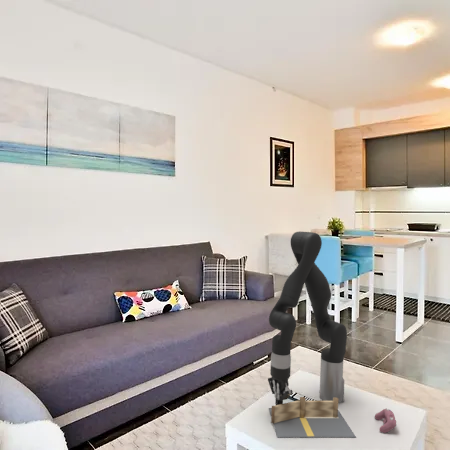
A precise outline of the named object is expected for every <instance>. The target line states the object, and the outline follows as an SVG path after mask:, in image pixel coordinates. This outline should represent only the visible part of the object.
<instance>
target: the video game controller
mask: <svg viewBox="0 0 450 450" xmlns="http://www.w3.org/2000/svg"><path fill="white" fill-rule="evenodd" d="M374 419H375V421H381V420H382V422H383V425H381V426H380V427H379V432H380V433H382V432H383V433H384V434H385V433H386V434H387V433H388V432H390V431H391V430H393V429H395V427H396V426H397V420H396V417H395V414H394V411H393V410H391V409H389V408H383V409H382V410H380V411H379V412H377V413H376V414H375V415H374Z"/></svg>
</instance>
